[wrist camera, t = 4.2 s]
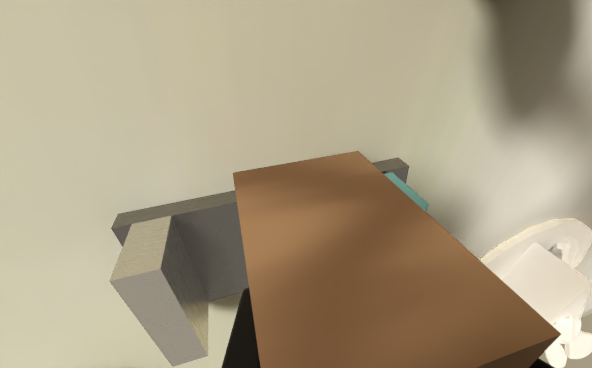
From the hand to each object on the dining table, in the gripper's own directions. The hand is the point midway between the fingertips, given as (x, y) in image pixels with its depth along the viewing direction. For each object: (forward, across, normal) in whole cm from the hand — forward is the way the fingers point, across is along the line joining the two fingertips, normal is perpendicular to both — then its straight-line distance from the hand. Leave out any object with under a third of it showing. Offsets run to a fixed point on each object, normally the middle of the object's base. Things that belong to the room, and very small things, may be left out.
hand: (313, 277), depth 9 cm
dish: (+12, -37, +29) cm, 49 cm away
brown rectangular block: (+1, 0, 0) cm, 1 cm away
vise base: (+11, 0, +8) cm, 14 cm away
